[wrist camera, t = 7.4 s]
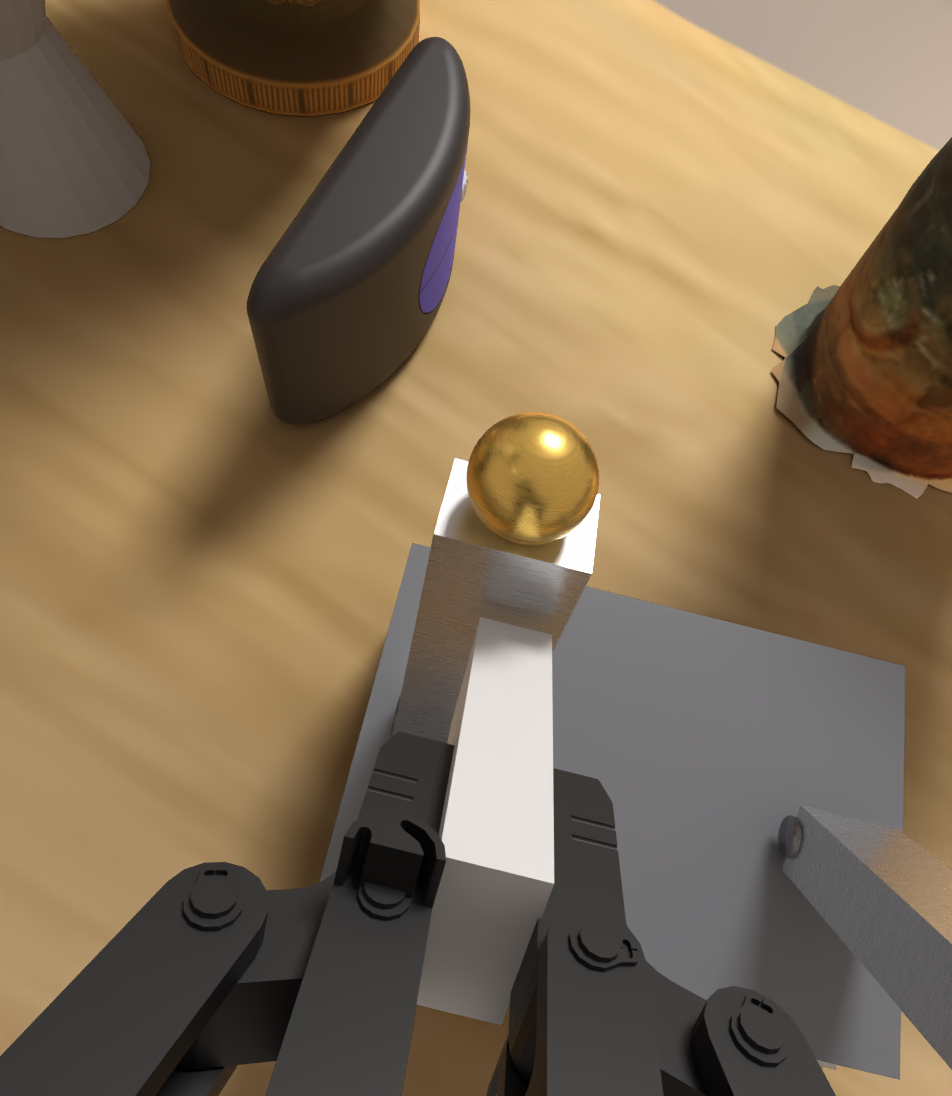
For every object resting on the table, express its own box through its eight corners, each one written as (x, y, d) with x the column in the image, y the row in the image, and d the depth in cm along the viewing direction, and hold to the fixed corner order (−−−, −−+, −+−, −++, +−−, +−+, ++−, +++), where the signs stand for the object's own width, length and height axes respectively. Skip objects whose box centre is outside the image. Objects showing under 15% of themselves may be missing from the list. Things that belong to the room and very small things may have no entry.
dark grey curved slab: (357, 466, 36) (349, 341, 27) (266, 425, 36) (228, 288, 27) (494, 219, 42) (524, 52, 33) (415, 186, 42) (424, 11, 33)
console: (319, 931, 29) (297, 960, 21) (405, 610, 33) (412, 542, 26) (767, 1037, 29) (899, 1102, 22) (790, 706, 34) (905, 665, 26)
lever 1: (383, 761, 23) (442, 458, 13) (402, 688, 24) (469, 364, 14) (490, 787, 23) (635, 506, 13) (503, 713, 24) (642, 408, 14)
